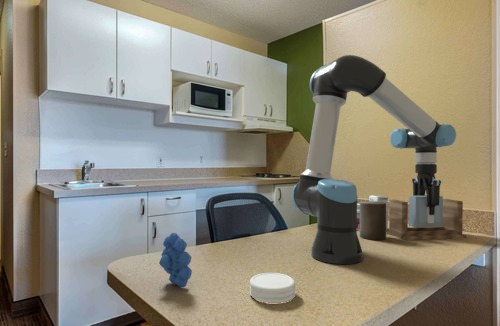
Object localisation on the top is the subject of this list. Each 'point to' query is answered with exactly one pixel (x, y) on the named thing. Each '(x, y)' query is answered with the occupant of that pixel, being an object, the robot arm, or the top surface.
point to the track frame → (449, 229)
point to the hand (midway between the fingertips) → (425, 221)
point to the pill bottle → (358, 217)
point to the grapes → (176, 260)
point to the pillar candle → (373, 220)
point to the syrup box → (381, 199)
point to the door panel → (424, 212)
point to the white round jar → (272, 287)
